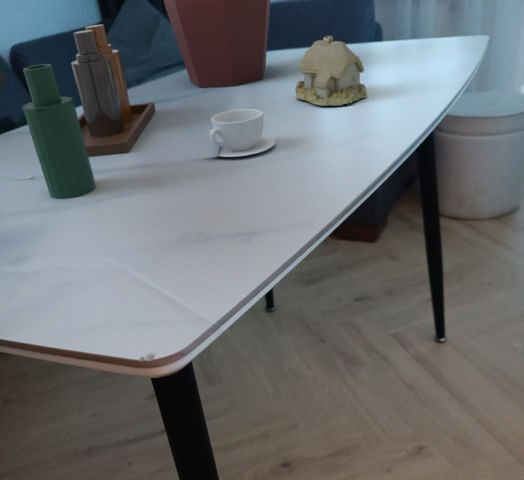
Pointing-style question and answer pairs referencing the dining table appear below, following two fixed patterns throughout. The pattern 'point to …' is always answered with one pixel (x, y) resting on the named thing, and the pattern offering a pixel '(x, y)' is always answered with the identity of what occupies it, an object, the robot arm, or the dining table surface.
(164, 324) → the dining table surface
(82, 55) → the gray bottle
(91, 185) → the green bottle
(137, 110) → the tray
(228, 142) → the teacup
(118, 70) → the amber bottle
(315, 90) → the ceramic model
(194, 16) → the bucket
